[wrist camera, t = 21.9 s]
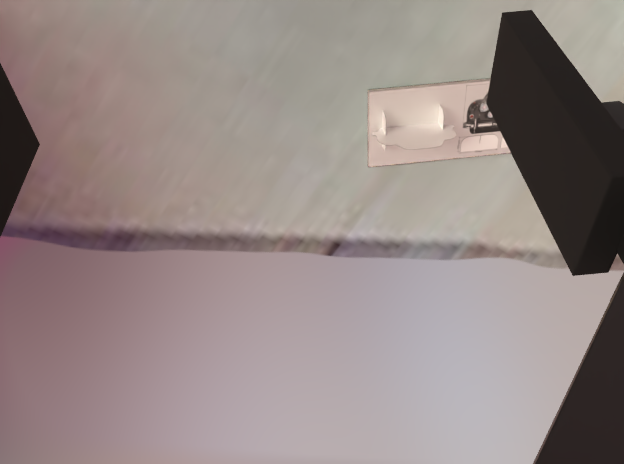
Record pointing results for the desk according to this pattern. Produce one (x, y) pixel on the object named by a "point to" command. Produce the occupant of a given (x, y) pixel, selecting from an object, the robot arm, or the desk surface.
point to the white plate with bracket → (431, 123)
